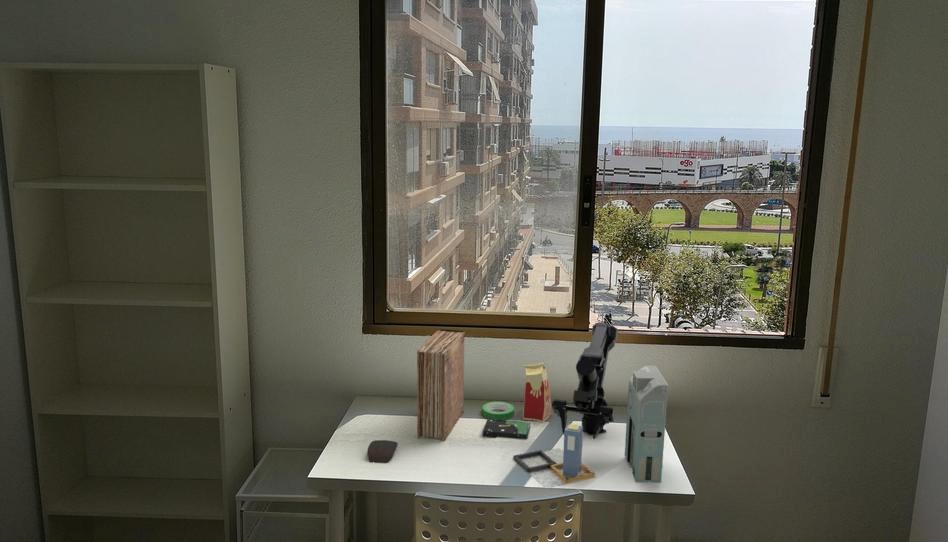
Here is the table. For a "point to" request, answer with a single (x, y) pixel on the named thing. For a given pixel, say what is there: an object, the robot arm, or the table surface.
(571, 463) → the plug
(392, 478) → the table surface
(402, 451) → the table surface
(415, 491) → the table surface
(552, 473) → the panel
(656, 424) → the device
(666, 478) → the table surface
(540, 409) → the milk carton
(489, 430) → the disk drive
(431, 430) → the book
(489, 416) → the tape roll
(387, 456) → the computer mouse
